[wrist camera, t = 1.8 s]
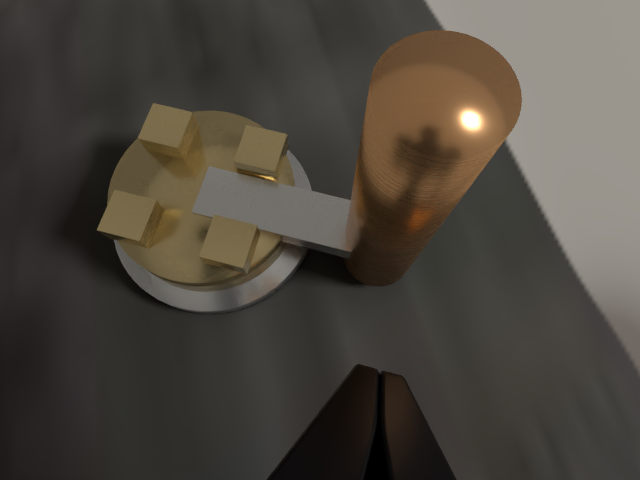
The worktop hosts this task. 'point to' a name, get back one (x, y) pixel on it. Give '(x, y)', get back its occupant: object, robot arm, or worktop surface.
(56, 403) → the worktop surface
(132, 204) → the bronze dome and bar
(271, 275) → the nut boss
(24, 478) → the worktop surface
